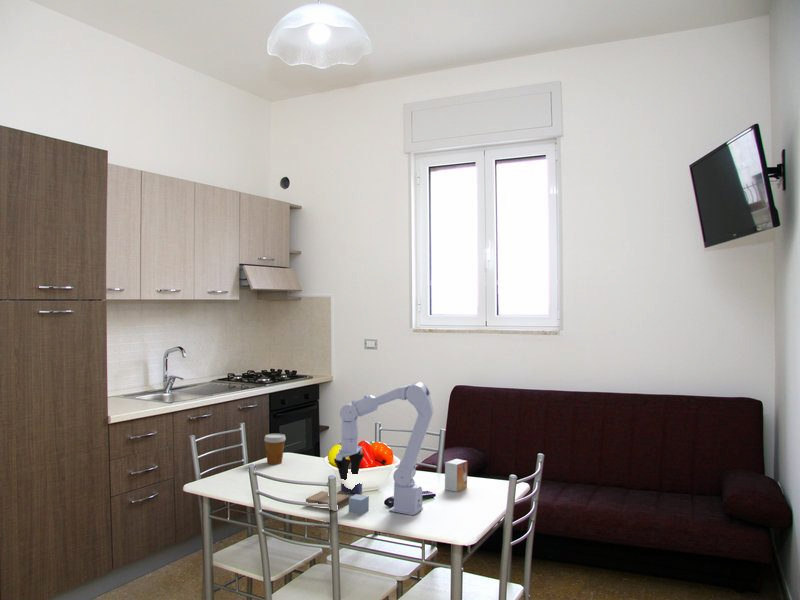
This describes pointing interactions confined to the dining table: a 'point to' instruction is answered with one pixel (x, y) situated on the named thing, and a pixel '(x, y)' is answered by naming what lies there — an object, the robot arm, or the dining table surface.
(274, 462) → the disposable coffee cup
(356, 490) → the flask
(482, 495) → the dining table surface
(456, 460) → the small box
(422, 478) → the dining table surface
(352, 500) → the slate cube
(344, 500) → the walnut base
